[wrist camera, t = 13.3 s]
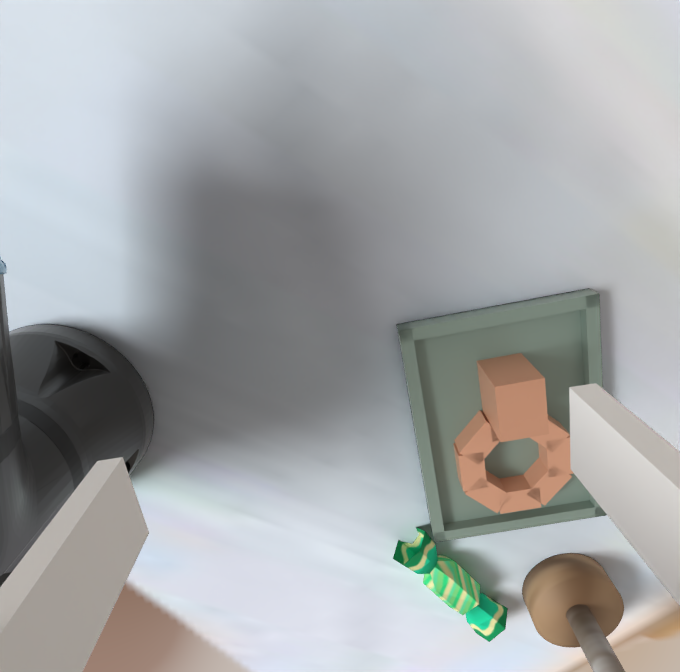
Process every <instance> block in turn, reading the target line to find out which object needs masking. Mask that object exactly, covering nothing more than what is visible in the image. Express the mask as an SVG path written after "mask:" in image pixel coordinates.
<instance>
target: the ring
mask: <svg viewBox="0 0 680 672" xmlns="http://www.w3.org/2000/svg"><path fill="white" fill-rule="evenodd" d="M477 368H478V377H479V385H480V393H481V401H482V410H483V412H482V411H481V410H479V411H478V412H477V414H476V415H475V416H474V417H473V418H472V420H471V421H470V422H469V423H468V424H467V426H466V427H465V428H464V429H463V430H462V431H461V433H460V434H459V435H458V436H457V437H456V439H455V440H454V441H455V443H453V445H454V452H455V459H456V466H457V473H458V478H459V481H460V484H461V487H462V489H463V492H465V494H466V495H467V496H469V497H471V498H472V499H474V500H476V501H477V502H479V503H481V504H482V505H484V506H486V507H487V508H489V509H491V510H492V511H494V512H496V513H498V512H500V514H503V513H509V512H516V511H522V510H528V509H534V508H540V507H541V504H543V505H544V506H545V505H546V504H547V503H548V502H549V501H550V500H551V498H552V497H553V496H554V495H555V494H556V493H557V492H558V491H559V490H560V489H561V488H562V487H563V486H564V485H565V484H566V483H567V482H568V481H569V480H570V478H571V477H572V475H571V474H573V471H572V470H571V464H570V434H569V433H568V432H567V430H566V429H565V428H564V427H563V426H562V425H561V423H560V422H558V421H557V420H555V419H554V418H552V417H551V416H549V415H548V414H547V400H546V387H545V378H544V377H543V376H542V375H541V373H540V372H539V371H538V370H537V369H536V368H535V367H534V366H533V365H532V364H531V363H530V362H529V361H528V360H527V359H526V358H525V357H524V356H523V355H522V354H521V353H517V354H512V355H506V356H501V357H495V358H490V359H484V360H478V361H477ZM523 438H531V439H532V440H534V441H535V442H537V443H538V449H539V458H538V459H537V460H536V461H535V462H534V463H533V465H532V466H531V467H530V468H529V469H528V470H527V471H526V472H525V473H524V474H523V475H518V476H512V477H506V478H500V479H499V478H497V477H496V476H494V475H493V474H491V473H489V472H488V471H486V470H485V462H484V459H485V458H486V456H487V455H488V454H489V453H490V452H491V451H492V450H493V448H494V447H495V446H496V445H497V444H498V443H499V442H506V441H512V440H518V439H523Z"/></svg>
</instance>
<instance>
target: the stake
mask: <svg viewBox="0 0 680 672" xmlns="http://www.w3.org/2000/svg"><path fill="white" fill-rule="evenodd" d="M522 595H523V599H524V602H525V604H526V606H527V609H528V611H529V613H530V616H531V618H532V621H533V623H534V625H535V628H536V630H537V631H538V633H539V634H540V635H541V636H542V637H543V638H544V639H545V640H547V641H548V642H550V643H552V644H555V645H558V646H562V647H581V648H582V650H583V652H584V654H585V656H586V658H587V660H588V662H589V664H590V666H591V668H592V670H593V672H625V671H624V669H623V667H622V665H621V664H620V662H619V660H618V658H617V656H616V655H615V653H614V651H613V649H612V647H611V646H610V644H609V642H608V640H607V639H606V637H607V636H608V635H609V634H610V633H612V632H613V631H614V630H615V628H616V627H617V626H618V624H619V623H620V621H621V619H622V616H623V612H624V605H623V600H622V597H621V595H620V594H619V592H618V591H617V589H616V588H615V586H614V584H613V583H612V581H611V580H610V578H609V577H608V575H607V574H606V572H605V571H604V569H603V568H602V566H601V565H600V564H599V563H598V562H597V561H595V560H594V559H592V558H590V557H588V556H585V555H581V554H574V553H567V554H560V555H555V556H552V557H550V558H547V559H545V560H543V561H542V562H540V563H539V564H537V565H536V566H535V567H534V568H533V569H532V570H531V571H530V572H529V573H528V575H527V576H526V578H525V580H524V583H523V588H522Z"/></svg>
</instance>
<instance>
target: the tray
mask: <svg viewBox="0 0 680 672" xmlns="http://www.w3.org/2000/svg"><path fill="white" fill-rule="evenodd" d="M397 330H398V336H399V342H400V348H401V354H402V359H403V365H404V371H405V377H406V383H407V389H408V395H409V401H410V406H411V412H412V418H413V424H414V430H415V436H416V442H417V447H418V453H419V459H420V465H421V471H422V477H423V483H424V489H425V494H426V500H427V506H428V512H429V518H430V524H431V530H432V534H433V538H434V542H441V541H447V540H453V539H460V538H466V537H472V536H478V535H485V534H491V533H497V532H504V531H510V530H516V529H522V528H529V527H535V526H541V525H548V524H554V523H560V522H566V521H573V520H579V519H585V518H592V517H598V516H604V515H607V514H606V513H605V512H604V510H603V509H602V508H601V507H600V505H599V504H598V503H597V502H596V500H595V499H594V498H593V497H592V495H591V494H590V493H589V492H588V490H587V489H586V488H585V486H584V485H583V484H582V483H581V481H580V480H579V479H578V478H577V476H576V475H575V474H574V473H573V474H571V475H572V477H571V478H570V480H569V481H568V482H567V483H566V484H565V485H564V486H563V487H562V488H561V489H560V490H559V491H558V492H557V493H556V494H555V495H554V496H553V497H552V498H551V500H550V501H549V502H548V503H547V504H546V505H545V506H544V505H543V504H541V507H540V508H534V509H528V510H522V511H516V512H509V513H503V514H500V512H498V513H496V512H494V511H492V510H491V509H489V508H487V507H486V506H484V505H482V504H481V503H479V502H477V501H476V500H474V499H472V498H471V497H469V496H467V495H466V494H465V492H463V489H462V487H461V484H460V481H459V478H458V473H457V466H456V459H455V452H454V445H453V443H455V441H454V440H455V439H456V437H457V436H458V435H459V434H460V433H461V431H462V430H463V429H464V428H465V427H466V426H467V424H468V423H469V422H470V421H471V420H472V418H473V417H474V416H475V415H476V414H477V412H478V411H479V410H481V411H482V412H483V410H482V401H481V393H480V385H479V377H478V368H477V361H478V360H484V359H490V358H495V357H501V356H506V355H512V354H517V353H521V354H522V355H523V356H524V357H525V358H526V359H527V360H528V361H529V362H530V363H531V364H532V365H533V366H534V367H535V368H536V369H537V370H538V371H539V372H540V373H541V375H542V376H543V377H544V378H545V387H546V400H547V414H548V415H549V416H551V417H552V418H554V419H555V420H557V421H558V422H560V423H561V425H562V426H563V427H564V428H565V429H566V430H567V432H568V433H569V434H570V402H569V387H574V386H581V385H587V384H594V383H596V384H598V385H599V386H600V387H601V388H603V384H602V356H601V329H600V302H599V293H597V292H595V291H593V290H591V289H583V290H578V291H573V292H567V293H562V294H557V295H551V296H546V297H540V298H535V299H530V300H524V301H519V302H514V303H508V304H503V305H498V306H492V307H487V308H482V309H476V310H471V311H466V312H460V313H455V314H450V315H444V316H439V317H434V318H428V319H423V320H418V321H412V322H407V323H402V324H397ZM538 458H539V449H538V443H537V442H535V441H534V440H532V439H531V438H523V439H518V440H512V441H506V442H499V443H498V444H497V445H496V446H495V447H494V448H493V450H492V451H491V452H490V453H489V454H488V455H487V456H486V458H485V459H484V462H485V470H486V471H488V472H489V473H491V474H493V475H494V476H496V477H497V478H499V479H500V478H506V477H512V476H518V475H523V474H524V473H525V472H526V471H527V470H528V469H529V468H530V467H531V466H532V465H533V463H534V462H535V461H536V460H537V459H538Z"/></svg>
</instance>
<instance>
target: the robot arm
mask: <svg viewBox="0 0 680 672" xmlns="http://www.w3.org/2000/svg"><path fill="white" fill-rule="evenodd" d="M5 273H6V265H5V263H4V262H3V261H2V260H1V258H0V672H83V669H84V667H85V665H86V663H87V661H88V659H89V657H90V655H91V653H92V651H93V648H94V647H95V644H96V642H97V640H98V638H99V636H100V634H101V632H102V630H103V628H104V626H105V624H106V621H107V620H108V617H109V615H110V613H111V611H112V609H113V607H114V605H115V603H116V601H117V599H118V596H119V594H120V592H121V590H122V588H123V586H124V584H125V582H126V580H127V578H128V576H129V574H130V572H131V570H132V567H133V565H134V563H135V561H136V559H137V557H138V555H139V553H140V551H141V549H142V547H143V544H144V542H145V540H146V538H147V536H148V534H149V531H148V528H147V526H146V523H145V520H144V517H143V514H142V511H141V508H140V505H139V502H138V500H137V497H136V494H135V491H134V488H133V485H132V482H131V479H130V477H129V475H130V474H131V473H132V472H133V470H134V469H135V467H136V466H137V465H138V463H139V462H140V460H141V459H142V457H143V456H144V454H145V452H146V450H147V448H148V446H149V444H150V441H151V437H152V432H153V421H154V419H153V408H152V404H151V400H150V396H149V394H148V391H147V389H146V386H145V384H144V382H143V381H142V379H141V377H140V376H139V374H138V373H137V371H136V370H135V369H134V367H133V366H132V365H131V364H130V363H129V361H128V360H127V359H126V358H125V357H124V356H123V355H122V354H120V353H119V352H118V351H117V350H116V349H114V348H113V347H112V346H110V345H109V344H107V343H106V342H104V341H102V340H101V339H99V338H97V337H95V336H93V335H91V334H89V333H86V332H84V331H81V330H78V329H74V328H71V327H66V326H60V325H48V324H47V325H32V326H26V327H22V328H18V329H15V330H13V331H10V332H9V328H8V317H7V307H6V297H5V287H4V277H3V274H5ZM569 402H570V464H571V470H572V471H573V473H574V474H575V475H576V476H577V478H578V479H579V480H580V481H581V483H582V484H583V485H584V486H585V488H586V489H587V490H588V492H589V493H590V494H591V495H592V497H593V498H594V499H595V500H596V502H597V503H598V504H599V505H600V507H601V508H602V509H603V510H604V512H605V513H606V514H607V515H608V517H609V518H610V519H611V520H612V522H613V523H614V524H615V525H616V527H617V528H618V529H619V530H620V532H621V533H622V534H623V535H624V537H625V538H626V539H627V540H628V542H629V543H630V544H631V546H632V547H633V548H634V549H635V551H636V552H637V553H638V554H639V556H640V557H641V558H642V559H643V561H644V562H645V563H646V564H647V566H648V567H649V568H650V569H651V571H652V572H653V573H654V574H655V576H656V577H657V578H658V579H659V581H660V582H661V583H662V584H663V586H664V587H665V588H666V589H667V591H668V592H669V593H670V594H671V596H672V597H673V598H674V600H675V601H676V602H677V603H678V605H679V606H680V451H678V450H677V449H676V448H675V447H673V446H672V445H671V444H670V443H669V442H667V441H666V440H665V439H664V438H662V437H661V436H660V435H659V434H658V433H656V432H655V431H654V430H653V429H651V428H650V427H649V426H648V425H647V424H645V423H644V422H643V421H642V420H640V419H639V418H638V417H637V416H636V415H634V414H633V413H632V412H631V411H629V410H628V409H627V408H626V407H625V406H623V405H622V404H621V403H620V402H618V401H617V400H616V399H615V398H614V397H612V396H611V395H610V394H609V393H607V392H606V391H605V390H604V389H603V388H601V387H600V386H599V385H598V384H596V383H594V384H587V385H581V386H574V387H569Z"/></svg>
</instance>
